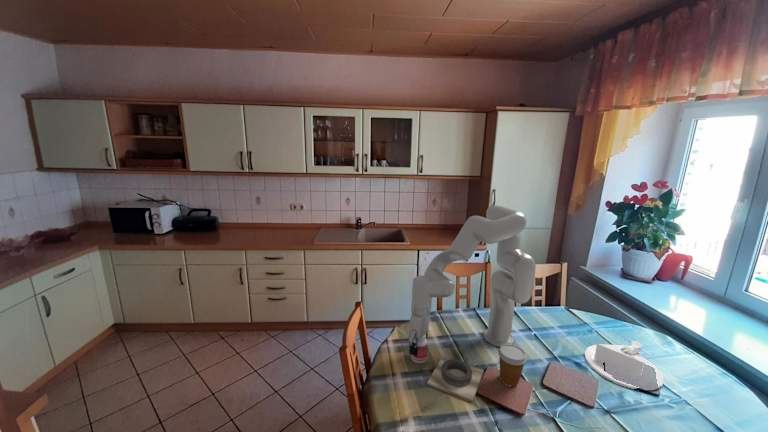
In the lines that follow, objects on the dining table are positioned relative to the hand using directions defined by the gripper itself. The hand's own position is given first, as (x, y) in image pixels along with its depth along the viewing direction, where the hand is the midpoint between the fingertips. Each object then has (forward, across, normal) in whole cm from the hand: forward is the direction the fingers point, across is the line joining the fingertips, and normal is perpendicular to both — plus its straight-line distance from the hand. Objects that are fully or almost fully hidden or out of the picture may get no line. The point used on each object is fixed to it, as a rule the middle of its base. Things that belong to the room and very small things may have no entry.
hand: (418, 347), depth 126 cm
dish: (+4, -36, +70) cm, 79 cm away
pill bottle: (+5, 0, 0) cm, 5 cm away
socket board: (+5, +3, +16) cm, 17 cm away
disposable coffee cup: (+5, -6, +33) cm, 34 cm away
